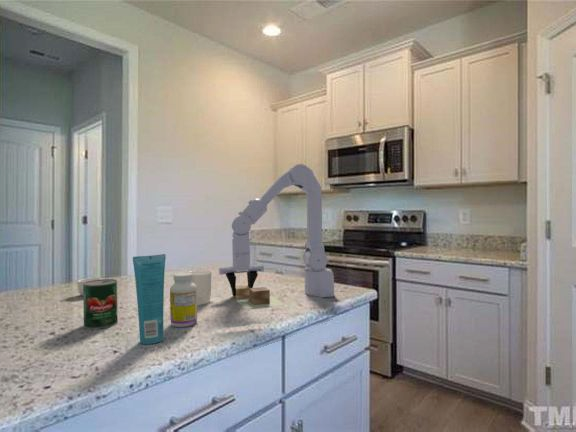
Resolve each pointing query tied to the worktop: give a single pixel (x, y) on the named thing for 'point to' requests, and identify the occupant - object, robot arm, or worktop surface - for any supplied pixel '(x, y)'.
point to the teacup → (80, 282)
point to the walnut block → (259, 295)
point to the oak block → (242, 291)
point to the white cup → (202, 285)
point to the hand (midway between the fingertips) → (241, 294)
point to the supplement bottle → (183, 301)
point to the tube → (150, 296)
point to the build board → (248, 305)
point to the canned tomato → (100, 303)
